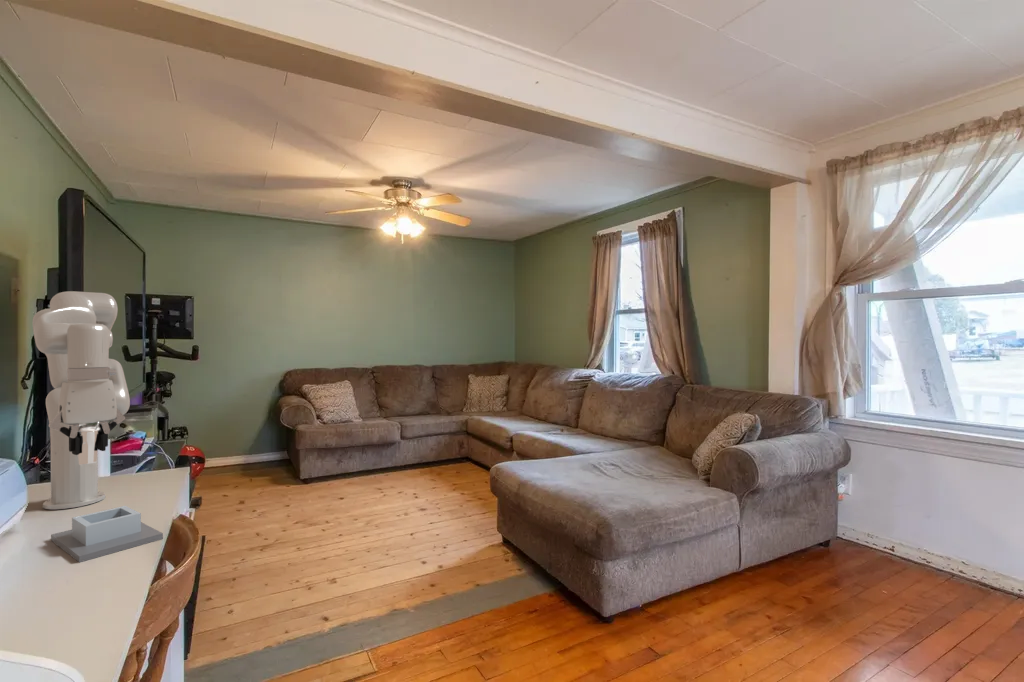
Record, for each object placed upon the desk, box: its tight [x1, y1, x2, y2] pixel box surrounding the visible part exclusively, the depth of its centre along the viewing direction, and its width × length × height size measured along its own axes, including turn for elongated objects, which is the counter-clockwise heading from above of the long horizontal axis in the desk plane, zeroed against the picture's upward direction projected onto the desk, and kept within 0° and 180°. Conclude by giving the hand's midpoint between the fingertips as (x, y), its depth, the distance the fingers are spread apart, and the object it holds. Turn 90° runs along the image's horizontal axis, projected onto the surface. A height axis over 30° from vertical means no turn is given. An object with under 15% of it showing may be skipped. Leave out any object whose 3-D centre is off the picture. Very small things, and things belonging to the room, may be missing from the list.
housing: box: [50, 505, 164, 563], centre depth 107 cm, size 20×14×5 cm
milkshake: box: [77, 422, 101, 465], centre depth 117 cm, size 4×5×10 cm
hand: (88, 451), depth 117 cm, fingers closed on milkshake, 4 cm apart
